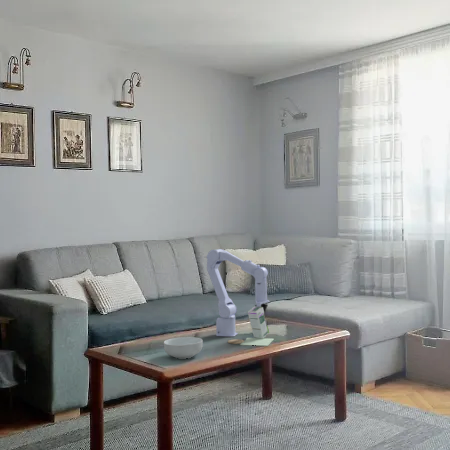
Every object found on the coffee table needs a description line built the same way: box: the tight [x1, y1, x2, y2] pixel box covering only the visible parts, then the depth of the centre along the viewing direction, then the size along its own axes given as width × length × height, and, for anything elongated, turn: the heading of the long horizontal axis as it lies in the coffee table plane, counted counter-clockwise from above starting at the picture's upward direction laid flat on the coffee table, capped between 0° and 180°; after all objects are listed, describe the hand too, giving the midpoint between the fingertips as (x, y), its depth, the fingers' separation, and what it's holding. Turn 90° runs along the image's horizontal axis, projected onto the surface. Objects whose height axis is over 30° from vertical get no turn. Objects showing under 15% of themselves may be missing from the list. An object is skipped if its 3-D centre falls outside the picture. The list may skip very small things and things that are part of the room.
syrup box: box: [247, 305, 270, 338], centre depth 284 cm, size 6×6×14 cm
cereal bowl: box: [163, 336, 204, 360], centre depth 249 cm, size 17×17×7 cm
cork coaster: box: [227, 338, 245, 345], centre depth 277 cm, size 8×8×1 cm
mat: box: [239, 337, 275, 347], centre depth 276 cm, size 13×16×1 cm
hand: (261, 319), depth 287 cm, fingers closed
